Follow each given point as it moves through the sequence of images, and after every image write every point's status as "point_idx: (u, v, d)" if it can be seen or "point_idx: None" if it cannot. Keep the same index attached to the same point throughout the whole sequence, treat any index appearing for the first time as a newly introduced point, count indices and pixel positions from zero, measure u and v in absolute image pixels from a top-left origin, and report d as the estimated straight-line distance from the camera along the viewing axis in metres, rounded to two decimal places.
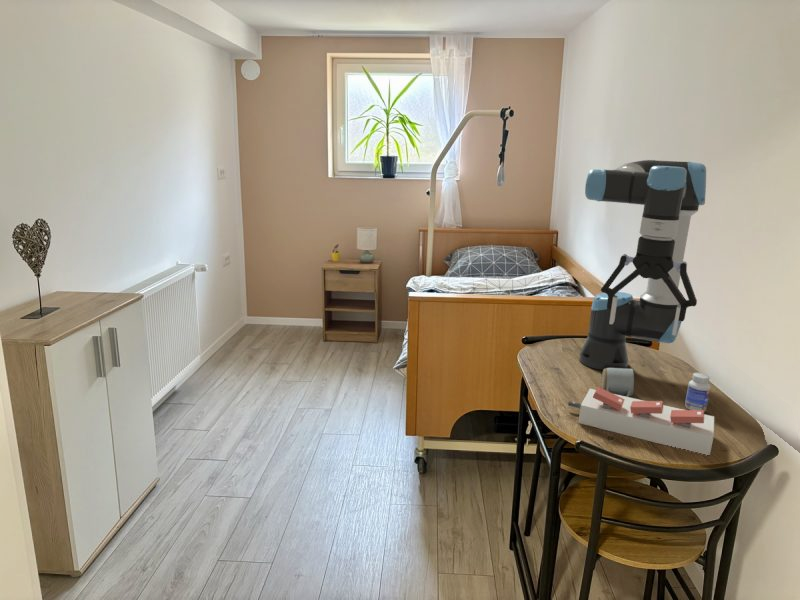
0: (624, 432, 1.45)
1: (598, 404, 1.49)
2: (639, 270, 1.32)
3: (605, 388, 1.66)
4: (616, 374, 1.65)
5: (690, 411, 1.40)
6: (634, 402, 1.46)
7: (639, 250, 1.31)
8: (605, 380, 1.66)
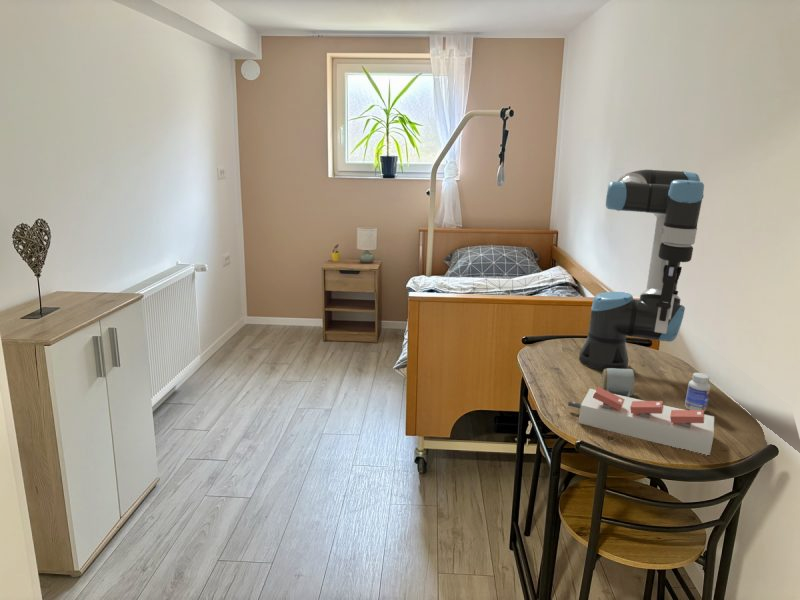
0: (624, 432, 1.45)
1: (598, 404, 1.49)
2: None
3: (605, 388, 1.66)
4: (616, 375, 1.65)
5: (690, 411, 1.40)
6: (634, 402, 1.46)
7: None
8: (605, 380, 1.65)
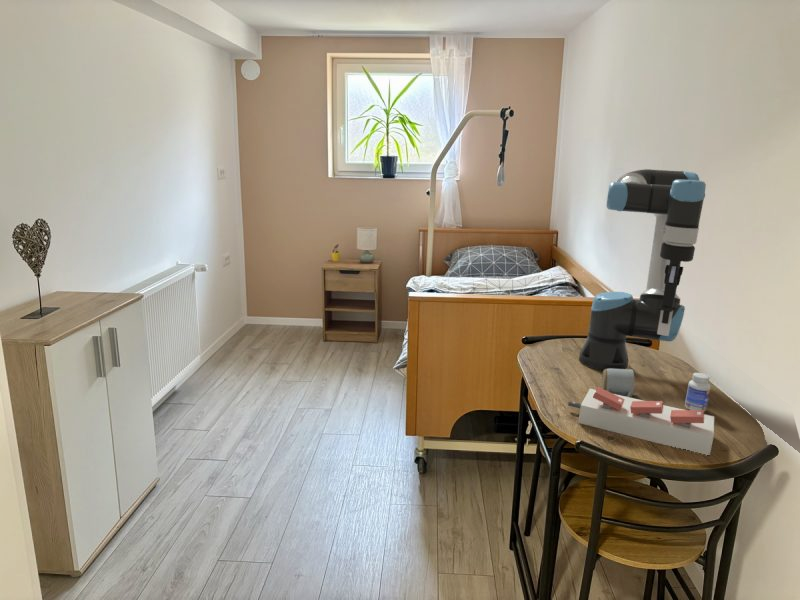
0: (624, 432, 1.45)
1: (598, 404, 1.49)
2: None
3: (605, 389, 1.66)
4: (616, 375, 1.65)
5: (690, 411, 1.40)
6: (634, 402, 1.46)
7: None
8: (605, 381, 1.65)
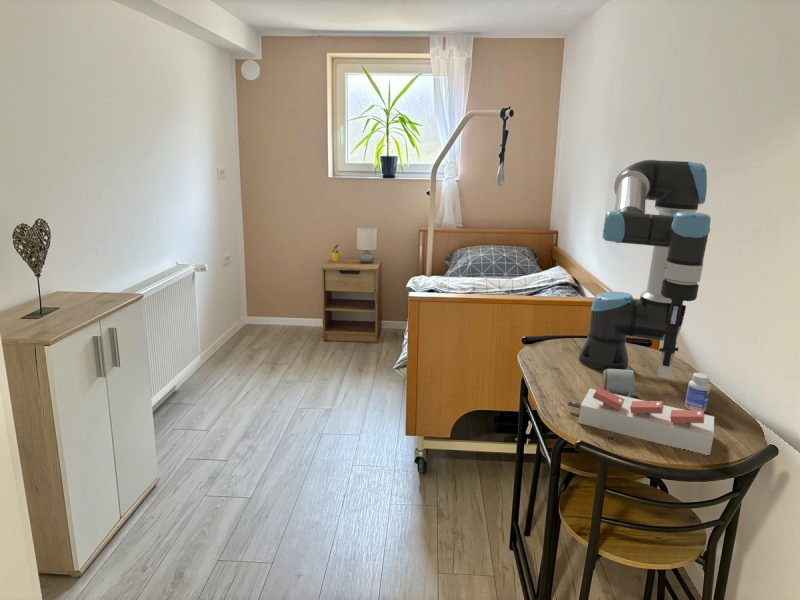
0: (624, 432, 1.45)
1: (598, 404, 1.49)
2: None
3: (605, 389, 1.65)
4: (616, 376, 1.64)
5: (690, 411, 1.40)
6: (634, 402, 1.46)
7: None
8: (605, 381, 1.65)
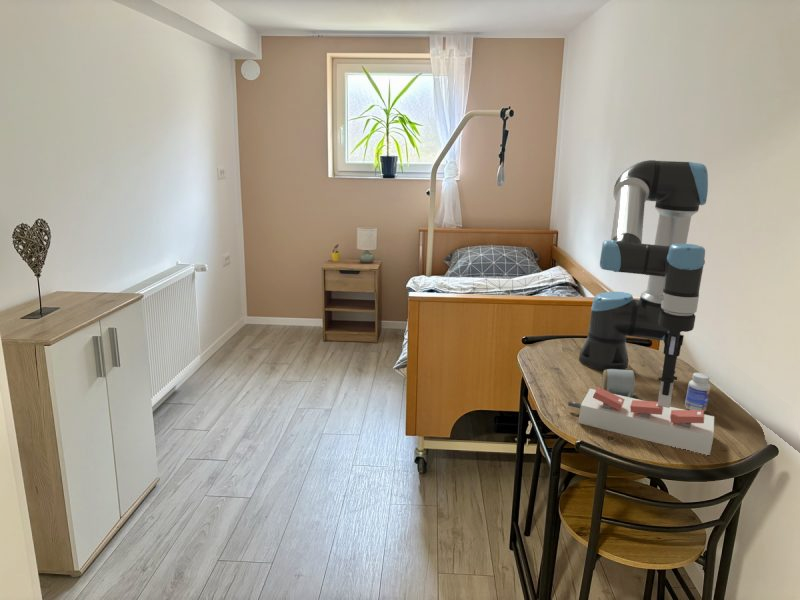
0: (624, 432, 1.45)
1: (598, 404, 1.49)
2: None
3: (605, 389, 1.65)
4: (616, 376, 1.64)
5: (690, 411, 1.40)
6: (634, 401, 1.46)
7: None
8: (605, 381, 1.65)
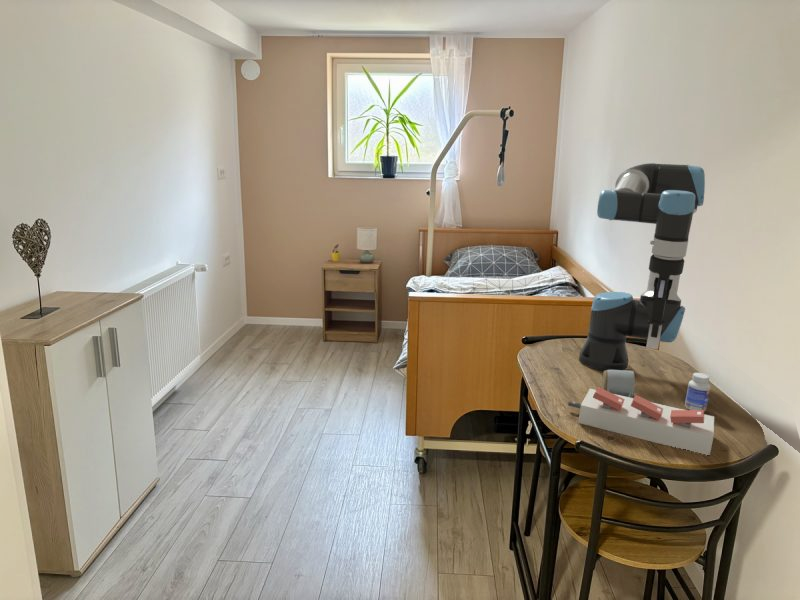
0: (624, 432, 1.45)
1: (598, 404, 1.49)
2: None
3: None
4: (616, 376, 1.64)
5: (690, 411, 1.40)
6: (637, 396, 1.45)
7: None
8: (605, 382, 1.64)
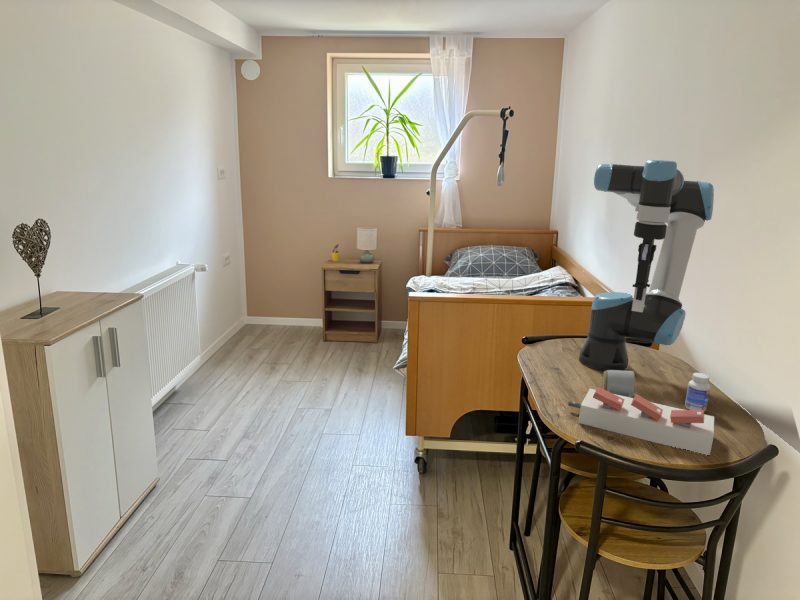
0: (624, 432, 1.45)
1: (598, 404, 1.49)
2: None
3: (606, 390, 1.65)
4: (616, 377, 1.64)
5: (690, 411, 1.40)
6: (637, 396, 1.45)
7: None
8: (606, 382, 1.64)
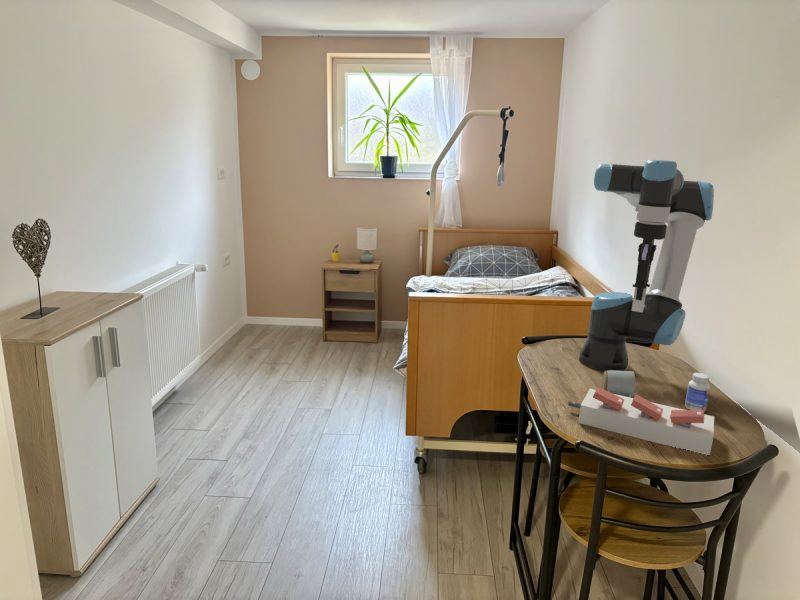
0: (624, 432, 1.45)
1: (598, 404, 1.49)
2: None
3: None
4: (617, 377, 1.63)
5: (690, 411, 1.40)
6: (637, 396, 1.45)
7: None
8: (606, 383, 1.64)
